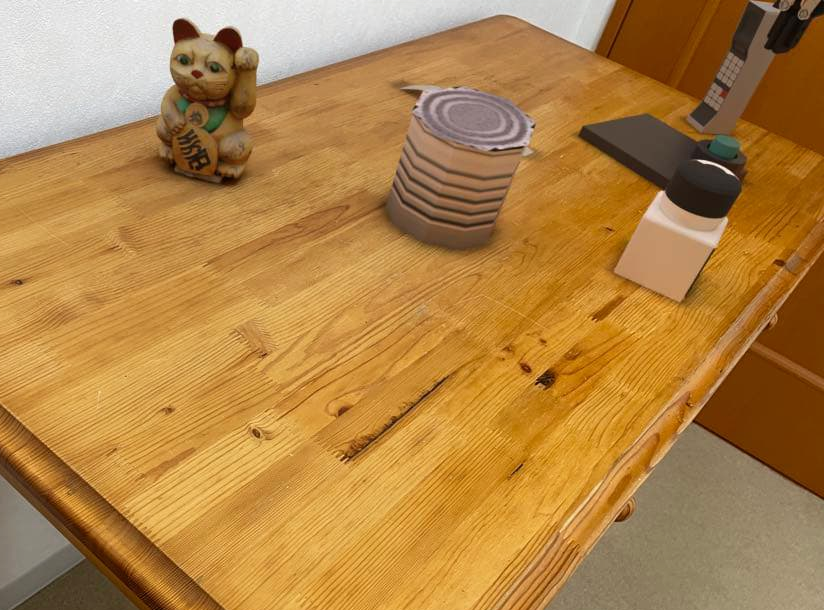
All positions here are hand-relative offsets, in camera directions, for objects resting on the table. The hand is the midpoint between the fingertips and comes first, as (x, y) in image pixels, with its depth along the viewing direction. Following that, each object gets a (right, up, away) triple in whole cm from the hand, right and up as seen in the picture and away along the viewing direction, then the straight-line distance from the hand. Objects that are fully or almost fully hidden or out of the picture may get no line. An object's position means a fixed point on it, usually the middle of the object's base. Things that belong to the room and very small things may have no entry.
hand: (776, 49), depth 97 cm
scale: (-8, -10, +11) cm, 17 cm away
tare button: (-2, -9, +9) cm, 13 cm away
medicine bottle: (-18, -27, -10) cm, 34 cm away
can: (-40, -22, -10) cm, 47 cm away
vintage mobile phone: (+3, -2, +22) cm, 23 cm away
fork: (-34, -5, +10) cm, 35 cm away
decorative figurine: (-64, -16, -10) cm, 67 cm away
